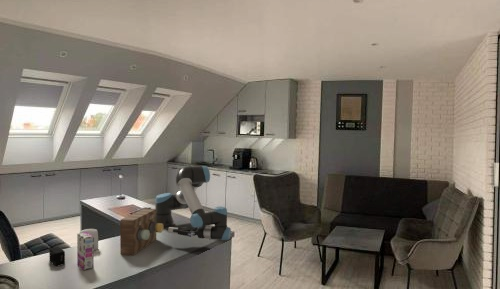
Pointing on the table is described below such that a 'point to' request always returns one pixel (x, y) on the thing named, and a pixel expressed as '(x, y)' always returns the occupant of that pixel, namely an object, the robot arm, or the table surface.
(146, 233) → the sage button
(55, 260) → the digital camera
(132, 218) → the console
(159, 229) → the ochre button
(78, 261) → the candy bar box
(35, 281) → the table surface
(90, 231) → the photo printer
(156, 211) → the robot arm
